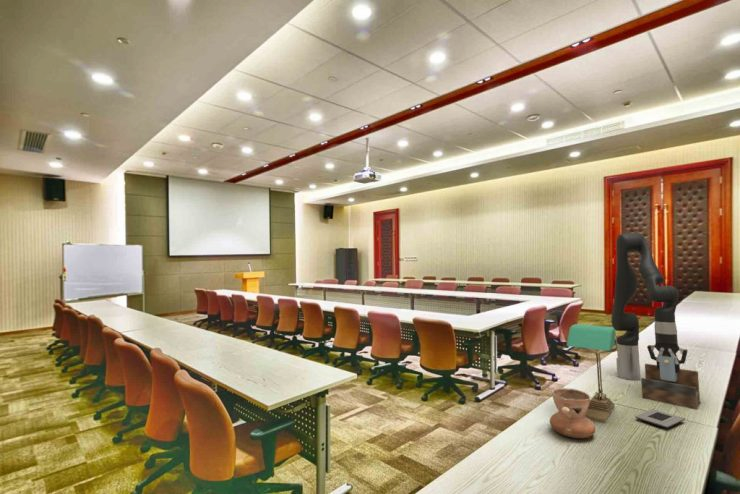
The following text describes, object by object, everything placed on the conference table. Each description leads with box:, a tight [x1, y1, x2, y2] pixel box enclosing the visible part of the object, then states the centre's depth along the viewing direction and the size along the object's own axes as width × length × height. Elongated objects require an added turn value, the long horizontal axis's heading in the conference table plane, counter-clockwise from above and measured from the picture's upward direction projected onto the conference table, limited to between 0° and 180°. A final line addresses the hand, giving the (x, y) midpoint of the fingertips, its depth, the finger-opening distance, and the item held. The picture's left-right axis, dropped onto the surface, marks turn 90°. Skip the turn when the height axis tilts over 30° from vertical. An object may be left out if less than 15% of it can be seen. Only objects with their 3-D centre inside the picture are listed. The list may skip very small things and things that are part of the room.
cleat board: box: [640, 363, 701, 410], centre depth 157 cm, size 18×10×13 cm, turn 42°
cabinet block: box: [659, 355, 677, 382], centre depth 157 cm, size 5×6×10 cm
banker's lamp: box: [566, 323, 618, 424], centre depth 148 cm, size 16×21×35 cm
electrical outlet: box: [634, 408, 686, 429], centre depth 138 cm, size 13×10×2 cm
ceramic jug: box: [549, 387, 596, 439], centre depth 132 cm, size 18×14×14 cm
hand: (668, 371), depth 157 cm, fingers closed on cabinet block, 5 cm apart
